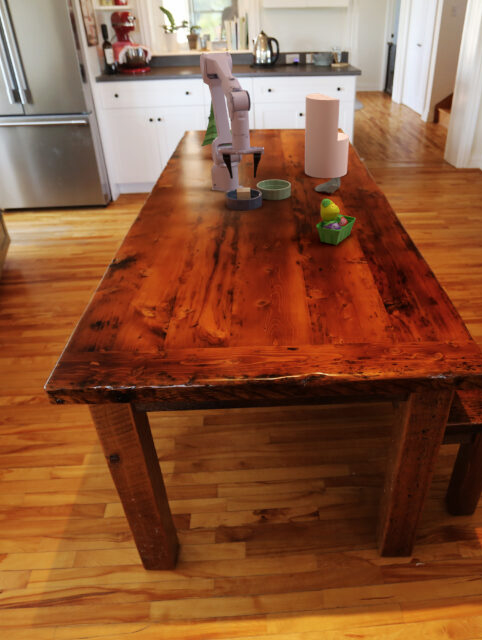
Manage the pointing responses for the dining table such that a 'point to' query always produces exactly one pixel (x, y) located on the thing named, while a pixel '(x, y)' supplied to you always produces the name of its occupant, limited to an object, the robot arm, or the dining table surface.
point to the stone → (329, 186)
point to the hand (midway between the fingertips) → (243, 177)
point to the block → (243, 193)
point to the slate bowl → (246, 203)
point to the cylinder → (324, 138)
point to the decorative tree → (211, 129)
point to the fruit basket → (333, 223)
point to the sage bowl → (274, 189)
